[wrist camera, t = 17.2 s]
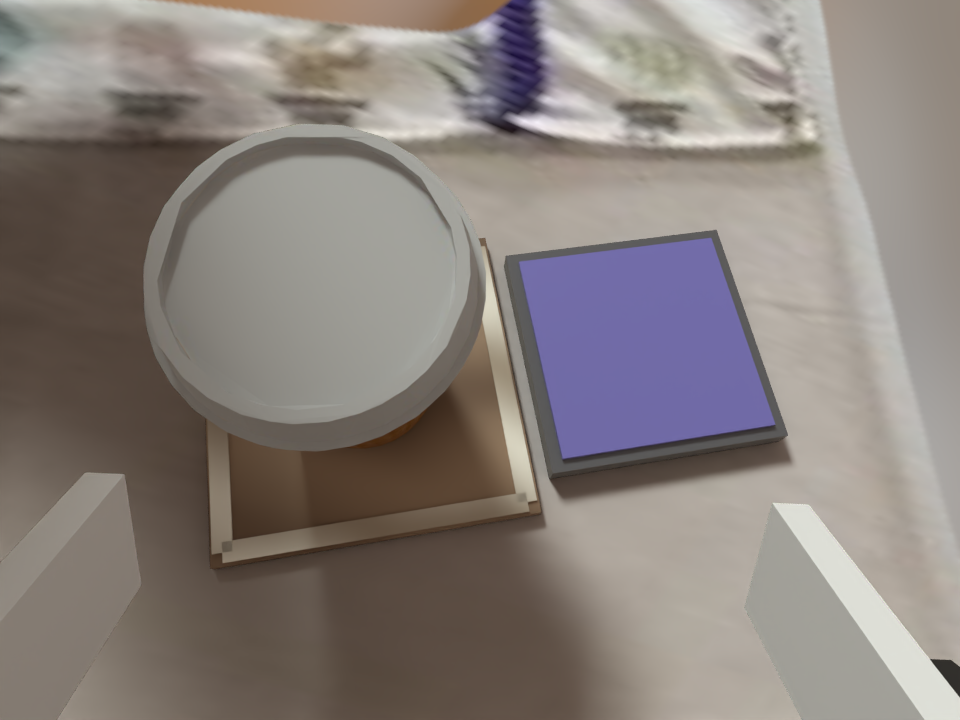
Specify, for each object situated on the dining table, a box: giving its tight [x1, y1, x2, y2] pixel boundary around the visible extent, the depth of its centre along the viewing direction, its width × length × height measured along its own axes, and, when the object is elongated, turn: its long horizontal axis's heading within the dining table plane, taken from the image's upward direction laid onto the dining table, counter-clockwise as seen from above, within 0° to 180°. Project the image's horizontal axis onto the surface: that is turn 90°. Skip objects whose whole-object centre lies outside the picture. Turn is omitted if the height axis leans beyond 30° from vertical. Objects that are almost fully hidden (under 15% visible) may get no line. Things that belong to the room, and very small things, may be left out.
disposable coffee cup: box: [143, 124, 486, 451], centre depth 24 cm, size 10×10×12 cm
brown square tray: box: [205, 238, 541, 569], centre depth 30 cm, size 13×13×1 cm
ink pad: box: [504, 230, 788, 479], centre depth 32 cm, size 10×10×1 cm
